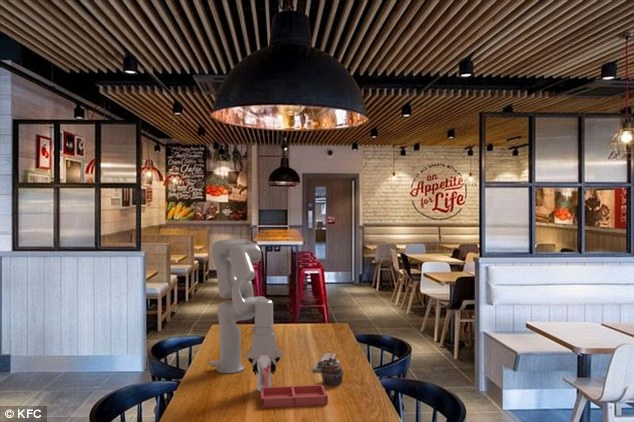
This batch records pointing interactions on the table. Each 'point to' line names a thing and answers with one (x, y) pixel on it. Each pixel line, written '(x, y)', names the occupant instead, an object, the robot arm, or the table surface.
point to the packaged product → (324, 357)
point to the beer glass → (264, 371)
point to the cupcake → (331, 372)
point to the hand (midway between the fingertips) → (264, 373)
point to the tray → (293, 396)
